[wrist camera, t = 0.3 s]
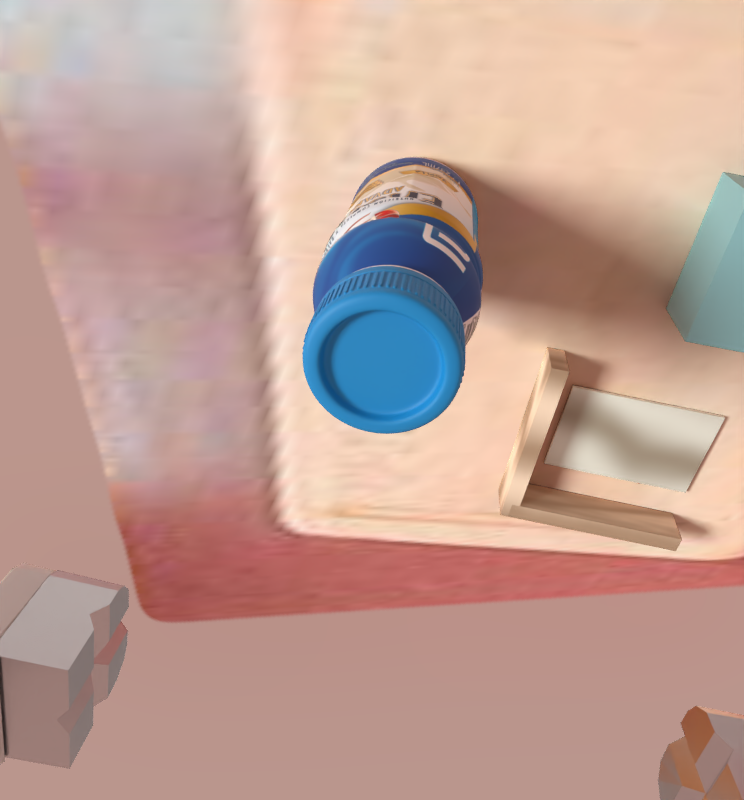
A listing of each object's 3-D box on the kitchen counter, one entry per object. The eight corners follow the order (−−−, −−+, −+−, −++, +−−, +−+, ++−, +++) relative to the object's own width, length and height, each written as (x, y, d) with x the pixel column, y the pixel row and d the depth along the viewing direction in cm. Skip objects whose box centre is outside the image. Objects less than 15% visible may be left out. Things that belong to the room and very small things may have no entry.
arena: (547, 347, 49) (551, 368, 46) (739, 386, 49) (754, 409, 46) (498, 489, 56) (500, 514, 53) (666, 524, 56) (675, 550, 53)
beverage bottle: (384, 299, 48) (339, 477, 31) (326, 188, 45) (239, 321, 28) (500, 250, 46) (518, 416, 29) (447, 127, 42) (433, 234, 25)
